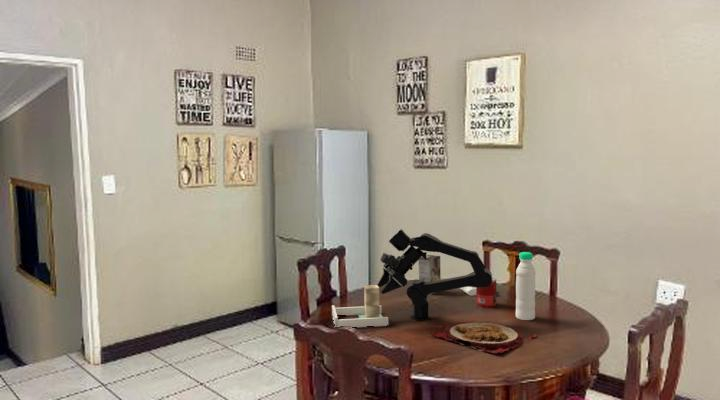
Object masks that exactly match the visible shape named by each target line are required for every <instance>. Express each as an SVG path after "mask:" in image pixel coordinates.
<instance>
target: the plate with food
mask: <svg viewBox="0 0 720 400" xmlns="http://www.w3.org/2000/svg"><path fill="white" fill-rule="evenodd" d="M434 328H437V329H441V328H443V329H442V330H441V331H438V332H437V331H435V332H434V331H433V333H432V332H431V334H432V336H435V337H437V338H441V339H444V340H445V341H447V342H448V341H450V342H454V343H458V344H460V345H461V346H464V345H465V344H464V343H462V342H461V341H466V342H468V343H470V345H468V346H467V347H469V348H473V350H477V351H479V352H486V353H491V354H502V353H505V352H508V351H509V350H511V349H515V348H516V347H517V348H519V347H521V345H522V344H523V343H522V342H521V338H524V337H525V334H522V333H520V332H517V331H516V330H515V329H513V328H511V327H507V326H506V325H503V324H499V323H498V324H497V323H493V322H488V321H486V322H481V321H480V322H477V321H476V322H474V321H471V322H464V323H458V324H455V325H451V324H450V325H447V324H446V325H445V328H444V326H443V325H440V326H438V325H437V326H434ZM529 335H530V336H529ZM532 335H533V336H532ZM528 336H529V338H528V339H529V340H528V339H527V340H528V341H527V340H526V343H528V342H530V341H532V339H533V338H536V337H538V336H537V334H532V333H530V334H528ZM532 337H533V338H532ZM458 340H460V341H458ZM491 350H492V351H491Z"/></svg>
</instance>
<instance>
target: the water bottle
mask: <svg viewBox="0 0 720 400" xmlns="http://www.w3.org/2000/svg"><path fill="white" fill-rule="evenodd" d="M518 256H519V257H518V258H519V260H520V263H519V264H518V266H517V268H516V269H515V270H516V271H515V274H516V277H515V278H516V279H515V317H516V319H518V320H521V321H532V320H534V319H535V318H536V309H535V308H536V269H535V268H534V264H533V263H532V261H533V256H534V255H533V253H532V252H529V251H522V252H519V255H518Z"/></svg>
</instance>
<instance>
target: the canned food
mask: <svg viewBox="0 0 720 400" xmlns="http://www.w3.org/2000/svg"><path fill="white" fill-rule="evenodd" d="M475 297H476V298H475V299H476V300H475V301H476V302H475V303H476V305H477V307H478V306H479V307H483V308H493V307H494V308H495V306H496V305H497V278H495V277H494V276H492V283H491V284H490V286H488V287H476V295H475Z"/></svg>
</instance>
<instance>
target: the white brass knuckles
mask: <svg viewBox="0 0 720 400" xmlns="http://www.w3.org/2000/svg"><path fill="white" fill-rule="evenodd" d="M458 289H459V290H461V291H463V292H464V293H466V294H467V295H468V296H470V297H472V296H476V287H463V288H458Z"/></svg>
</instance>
